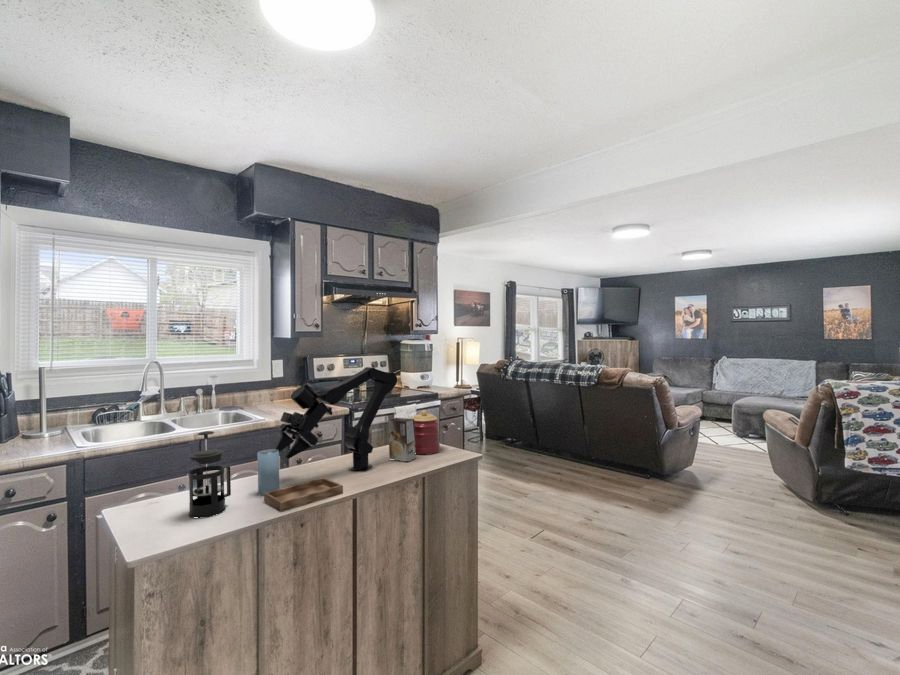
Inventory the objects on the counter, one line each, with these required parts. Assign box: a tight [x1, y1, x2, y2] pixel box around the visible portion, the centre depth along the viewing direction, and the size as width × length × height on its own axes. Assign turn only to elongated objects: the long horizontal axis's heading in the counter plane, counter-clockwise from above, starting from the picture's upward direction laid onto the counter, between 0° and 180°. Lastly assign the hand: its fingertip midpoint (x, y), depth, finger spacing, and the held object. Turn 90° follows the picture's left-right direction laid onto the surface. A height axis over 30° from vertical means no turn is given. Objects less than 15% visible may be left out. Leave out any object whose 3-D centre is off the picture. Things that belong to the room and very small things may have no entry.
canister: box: [410, 409, 441, 455], centre depth 191 cm, size 13×13×18 cm
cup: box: [257, 448, 281, 496], centre depth 144 cm, size 6×6×13 cm
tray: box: [263, 477, 344, 513], centre depth 139 cm, size 20×12×2 cm, turn 135°
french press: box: [187, 430, 232, 519], centre depth 129 cm, size 12×9×23 cm
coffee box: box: [387, 417, 416, 462], centre depth 180 cm, size 9×6×16 cm
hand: (281, 455), depth 147 cm, fingers open, 9 cm apart
